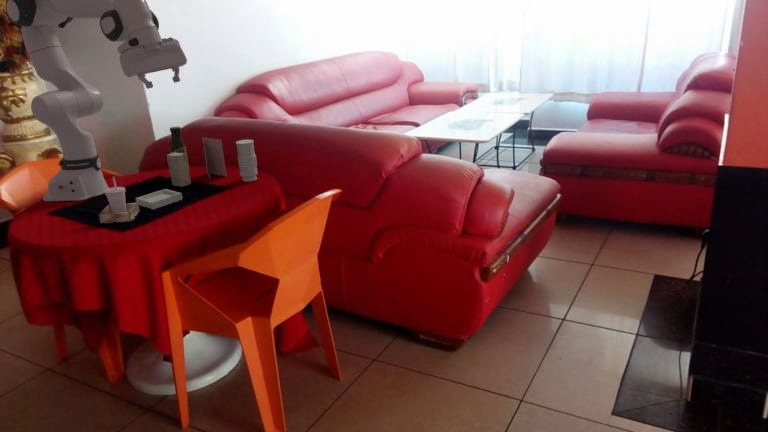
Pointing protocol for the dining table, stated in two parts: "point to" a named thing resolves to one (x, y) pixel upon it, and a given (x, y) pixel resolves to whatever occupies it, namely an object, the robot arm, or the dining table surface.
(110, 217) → the frame
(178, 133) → the sauce bottle
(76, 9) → the robot arm
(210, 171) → the greeting card
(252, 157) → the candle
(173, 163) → the skincare box
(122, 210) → the smoothie
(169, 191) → the tray
